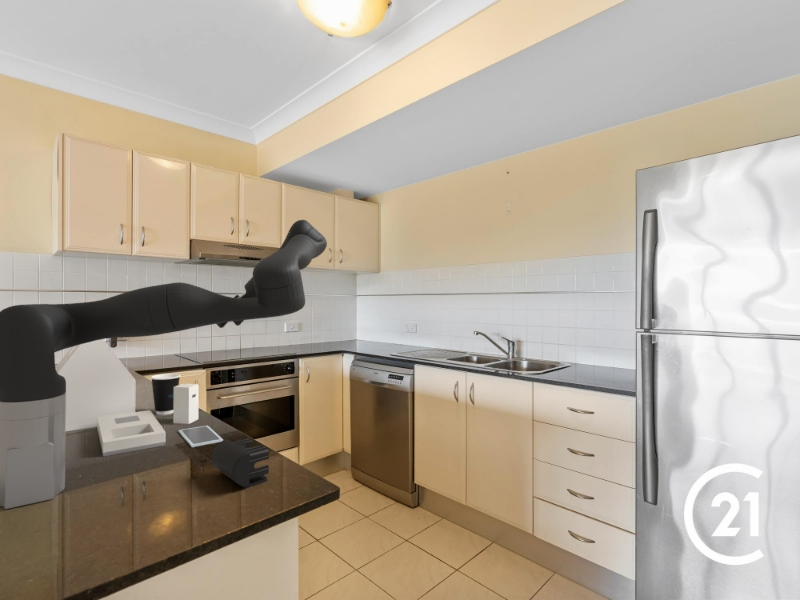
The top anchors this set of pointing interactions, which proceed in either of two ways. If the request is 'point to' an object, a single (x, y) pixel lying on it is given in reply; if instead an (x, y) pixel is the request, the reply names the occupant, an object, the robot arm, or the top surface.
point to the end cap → (241, 462)
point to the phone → (200, 436)
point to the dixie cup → (164, 392)
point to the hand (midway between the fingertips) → (227, 324)
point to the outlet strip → (129, 432)
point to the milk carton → (95, 385)
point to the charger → (186, 403)
